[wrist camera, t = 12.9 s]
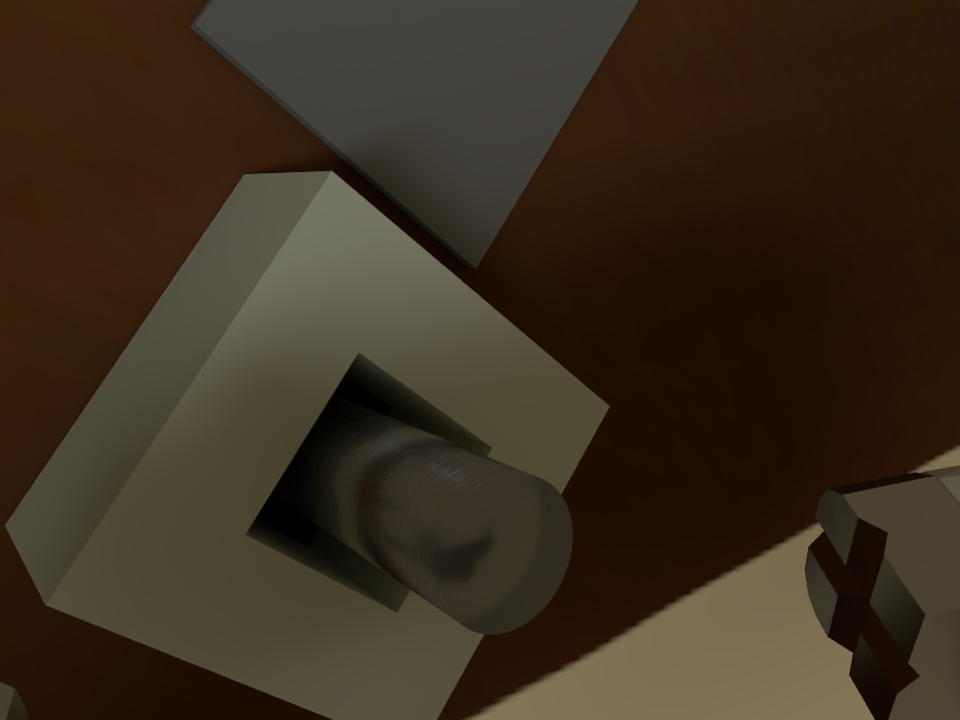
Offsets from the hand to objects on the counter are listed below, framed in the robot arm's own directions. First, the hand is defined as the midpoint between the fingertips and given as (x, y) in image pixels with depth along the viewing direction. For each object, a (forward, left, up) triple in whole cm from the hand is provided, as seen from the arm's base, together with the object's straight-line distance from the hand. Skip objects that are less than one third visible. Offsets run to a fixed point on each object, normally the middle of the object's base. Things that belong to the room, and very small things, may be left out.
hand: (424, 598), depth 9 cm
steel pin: (+1, -6, -15) cm, 16 cm away
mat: (+14, -3, -15) cm, 21 cm away
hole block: (+1, -6, -15) cm, 16 cm away
